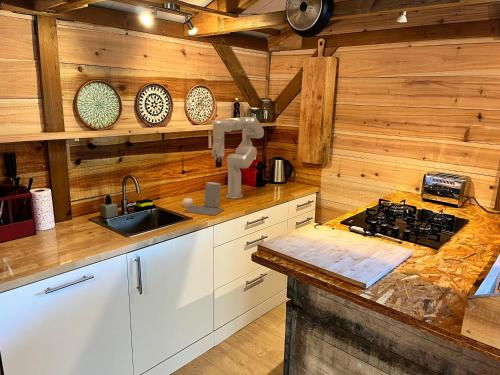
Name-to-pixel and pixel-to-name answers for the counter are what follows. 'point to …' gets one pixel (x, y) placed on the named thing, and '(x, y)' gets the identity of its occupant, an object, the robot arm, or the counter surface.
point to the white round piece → (187, 202)
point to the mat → (204, 210)
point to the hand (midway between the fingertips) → (218, 167)
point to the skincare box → (212, 194)
